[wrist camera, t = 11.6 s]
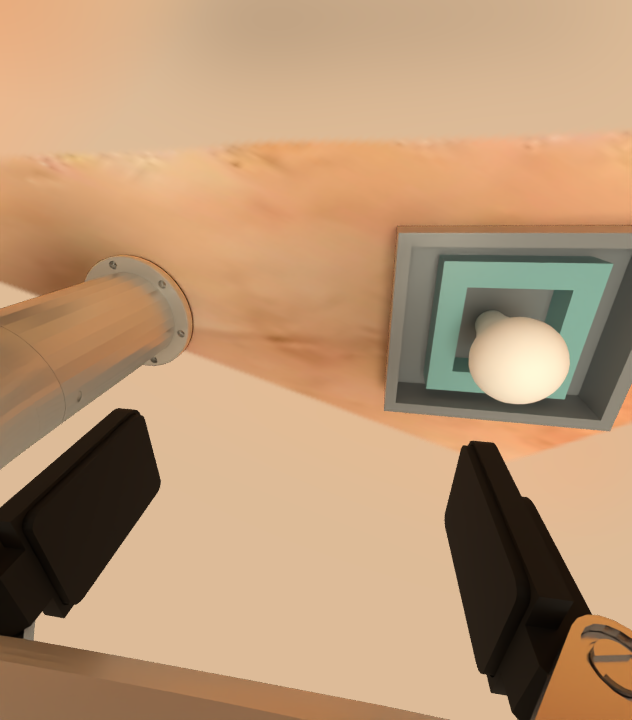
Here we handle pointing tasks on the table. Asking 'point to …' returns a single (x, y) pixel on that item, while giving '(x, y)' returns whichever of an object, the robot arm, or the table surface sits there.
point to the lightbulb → (517, 358)
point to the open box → (513, 299)
